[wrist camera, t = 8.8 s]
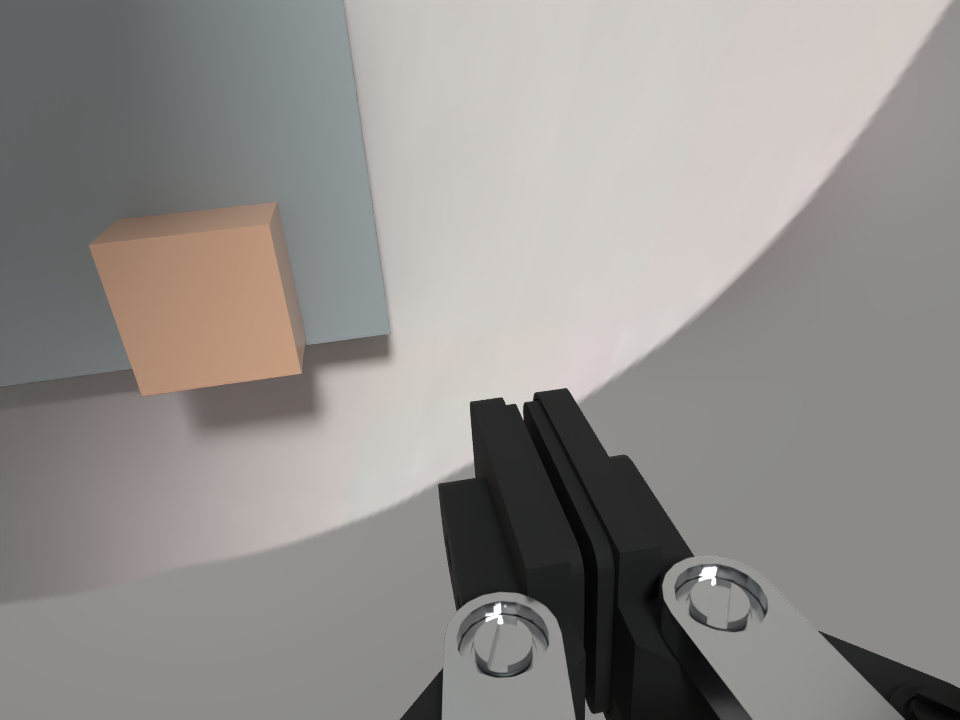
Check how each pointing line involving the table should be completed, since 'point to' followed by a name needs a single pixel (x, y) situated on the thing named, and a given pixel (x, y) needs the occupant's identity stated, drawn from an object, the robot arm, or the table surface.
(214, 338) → the tile
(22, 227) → the board
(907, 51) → the table surface
